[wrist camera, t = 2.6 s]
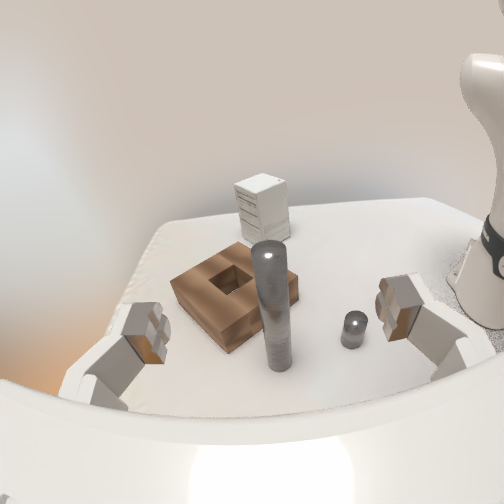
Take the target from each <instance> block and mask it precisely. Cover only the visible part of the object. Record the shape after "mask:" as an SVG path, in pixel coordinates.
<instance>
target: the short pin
mask: <svg viewBox="0 0 504 504" xmlns="http://www.w3.org/2000/svg"><path fill="white" fill-rule="evenodd" d="M367 323H368V318H367V316H366V315H365V314H364V313H363V312H361V311H351V312H349V313H348V314H347V315H346V317H345V321H344V327H343V332H342V337H341V342H342V344H343V346H344V347H346V348H348V349H355V348H358V347H359V346H360V345H361V343H362V340H363V337H364V333H365V330H366V326H367Z"/></svg>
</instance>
